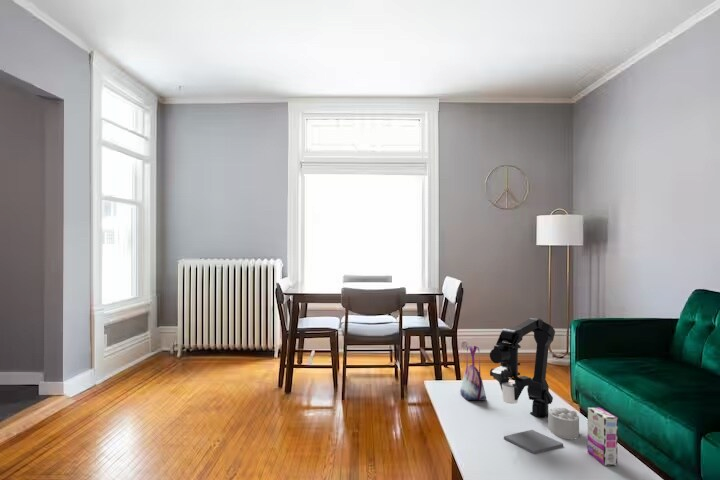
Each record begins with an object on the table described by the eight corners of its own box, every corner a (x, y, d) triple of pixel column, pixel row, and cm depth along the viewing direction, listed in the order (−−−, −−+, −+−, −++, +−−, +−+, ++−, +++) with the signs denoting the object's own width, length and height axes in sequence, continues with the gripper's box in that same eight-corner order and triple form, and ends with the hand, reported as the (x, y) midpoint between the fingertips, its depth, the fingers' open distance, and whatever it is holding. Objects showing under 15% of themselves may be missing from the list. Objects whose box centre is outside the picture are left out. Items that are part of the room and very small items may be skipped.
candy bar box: (618, 466, 164) (618, 417, 165) (604, 466, 164) (604, 417, 164) (599, 451, 176) (600, 406, 176) (586, 452, 175) (586, 406, 175)
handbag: (456, 390, 248) (456, 341, 248) (475, 390, 249) (475, 341, 249) (470, 404, 227) (470, 351, 227) (490, 403, 228) (491, 350, 228)
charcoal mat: (532, 432, 194) (532, 429, 194) (563, 446, 180) (563, 443, 180) (503, 438, 187) (503, 436, 187) (534, 453, 173) (534, 451, 173)
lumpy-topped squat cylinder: (570, 426, 200) (570, 405, 200) (585, 439, 187) (585, 417, 187) (545, 426, 200) (545, 405, 200) (558, 439, 187) (558, 416, 187)
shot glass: (520, 404, 195) (520, 387, 195) (502, 403, 197) (502, 386, 197) (518, 399, 202) (518, 382, 202) (501, 398, 203) (501, 381, 203)
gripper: (480, 356, 204) (479, 394, 204) (512, 367, 187) (512, 407, 187) (500, 354, 209) (499, 390, 209) (533, 364, 193) (533, 403, 192)
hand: (510, 397), depth 199 cm, fingers closed on shot glass, 6 cm apart
